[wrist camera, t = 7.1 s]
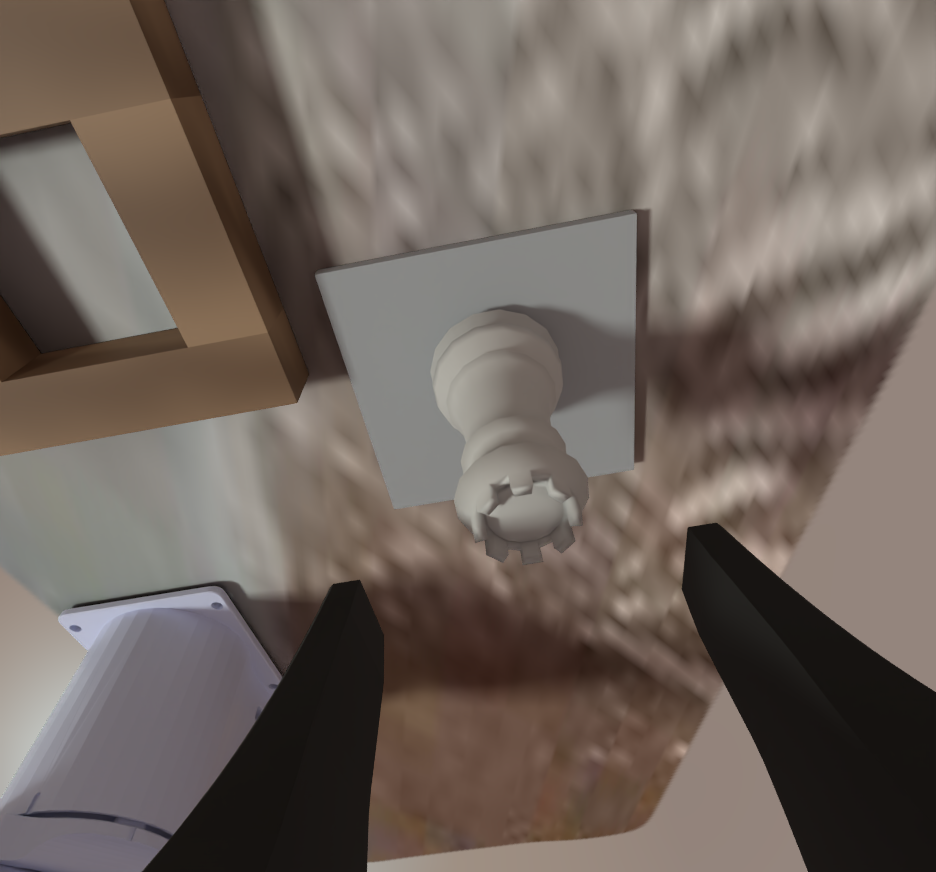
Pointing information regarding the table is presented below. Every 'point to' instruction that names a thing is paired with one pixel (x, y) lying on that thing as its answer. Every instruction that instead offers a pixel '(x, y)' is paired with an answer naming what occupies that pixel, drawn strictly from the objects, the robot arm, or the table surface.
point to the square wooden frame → (140, 233)
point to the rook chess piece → (509, 434)
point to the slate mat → (481, 290)
